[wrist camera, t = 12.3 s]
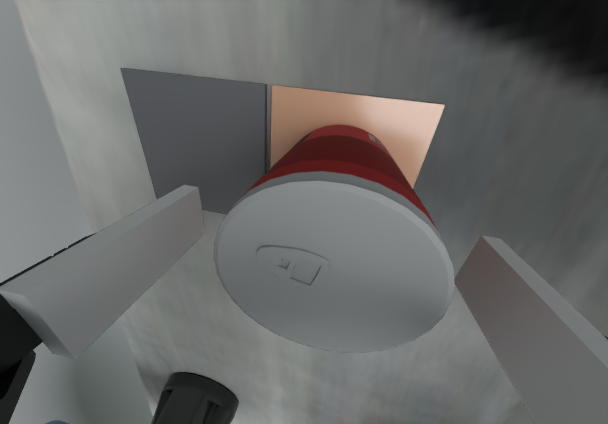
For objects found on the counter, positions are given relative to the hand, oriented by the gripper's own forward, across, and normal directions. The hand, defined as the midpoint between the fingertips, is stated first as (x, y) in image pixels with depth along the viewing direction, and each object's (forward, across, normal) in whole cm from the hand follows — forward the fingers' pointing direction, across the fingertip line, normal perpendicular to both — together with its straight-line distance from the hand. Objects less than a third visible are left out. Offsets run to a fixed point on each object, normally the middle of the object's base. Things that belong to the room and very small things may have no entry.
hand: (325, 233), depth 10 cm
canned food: (+8, 0, 0) cm, 8 cm away
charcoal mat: (+8, +11, 0) cm, 14 cm away
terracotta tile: (+8, 0, 0) cm, 8 cm away
